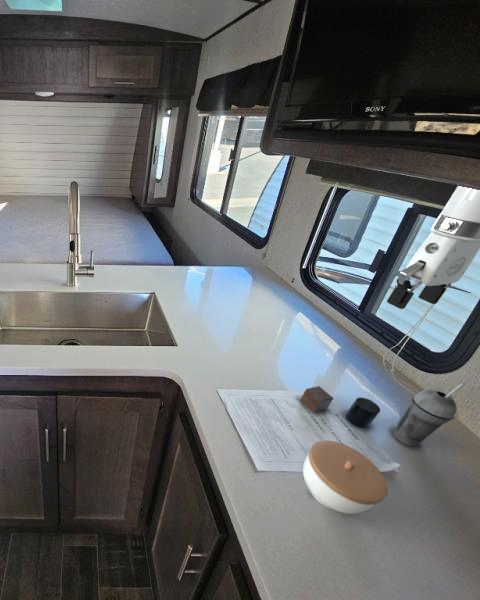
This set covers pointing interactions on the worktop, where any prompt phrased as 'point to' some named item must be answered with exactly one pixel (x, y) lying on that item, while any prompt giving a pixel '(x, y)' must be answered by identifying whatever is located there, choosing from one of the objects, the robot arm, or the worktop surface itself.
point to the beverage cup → (425, 415)
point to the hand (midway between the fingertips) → (410, 303)
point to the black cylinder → (362, 412)
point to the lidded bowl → (343, 478)
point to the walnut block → (316, 399)
